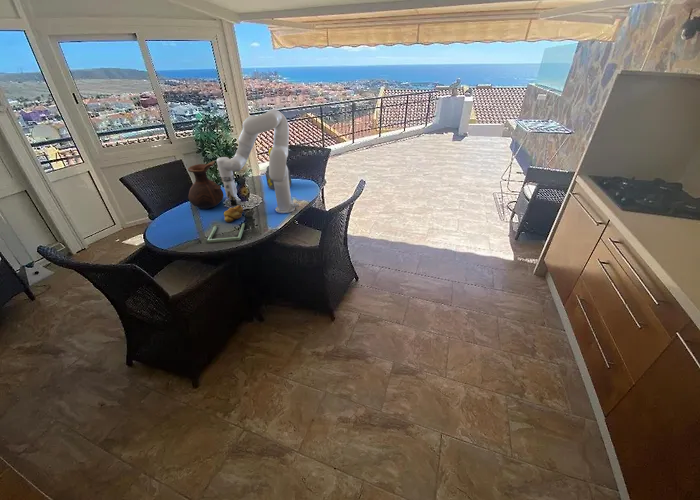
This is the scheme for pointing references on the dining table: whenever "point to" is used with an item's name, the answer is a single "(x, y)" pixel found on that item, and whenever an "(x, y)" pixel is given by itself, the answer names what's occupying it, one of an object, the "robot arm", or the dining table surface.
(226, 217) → the bread roll
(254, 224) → the dining table surface
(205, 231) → the dining table surface
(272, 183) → the decorative lamp
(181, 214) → the dining table surface
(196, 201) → the jug
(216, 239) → the frame
